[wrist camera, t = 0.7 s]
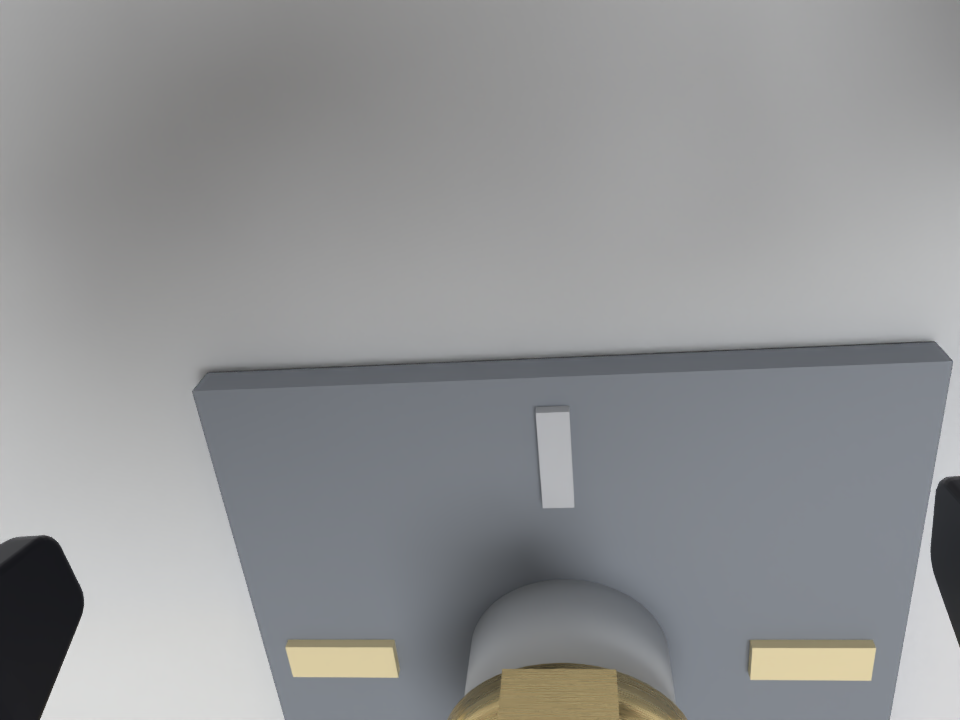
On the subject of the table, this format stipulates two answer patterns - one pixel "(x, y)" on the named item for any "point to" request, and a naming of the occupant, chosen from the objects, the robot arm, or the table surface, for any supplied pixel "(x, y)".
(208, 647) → the table surface
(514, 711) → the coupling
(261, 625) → the post base
